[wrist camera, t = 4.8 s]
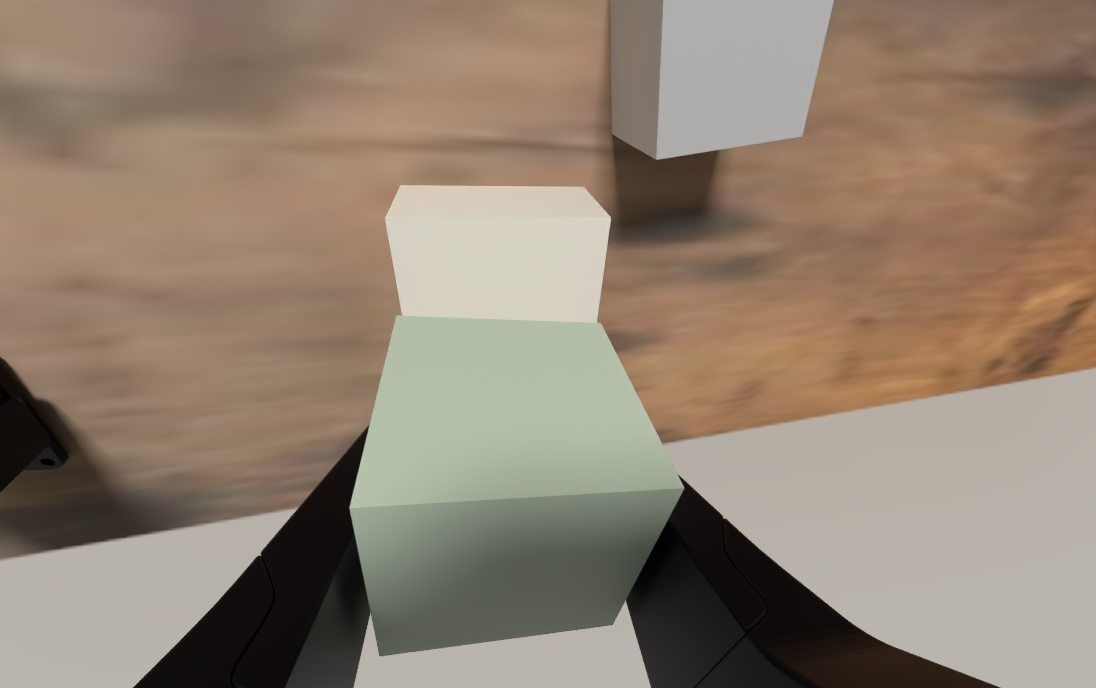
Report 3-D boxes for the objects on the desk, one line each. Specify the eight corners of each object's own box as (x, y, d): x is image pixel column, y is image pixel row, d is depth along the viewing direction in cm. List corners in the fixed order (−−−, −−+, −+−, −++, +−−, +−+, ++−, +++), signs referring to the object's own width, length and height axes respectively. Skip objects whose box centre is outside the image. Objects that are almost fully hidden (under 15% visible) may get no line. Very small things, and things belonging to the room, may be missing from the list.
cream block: (423, 338, 19) (416, 394, 16) (401, 183, 15) (385, 218, 12) (568, 330, 21) (588, 382, 17) (582, 185, 17) (611, 217, 13)
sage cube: (406, 459, 11) (379, 656, 8) (396, 315, 9) (349, 508, 5) (567, 453, 12) (612, 625, 8) (600, 322, 10) (685, 488, 6)
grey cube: (611, 134, 16) (656, 159, 12) (608, -25, 13) (665, -54, 9) (724, 116, 16) (802, 136, 12) (745, -43, 13) (851, -76, 10)
